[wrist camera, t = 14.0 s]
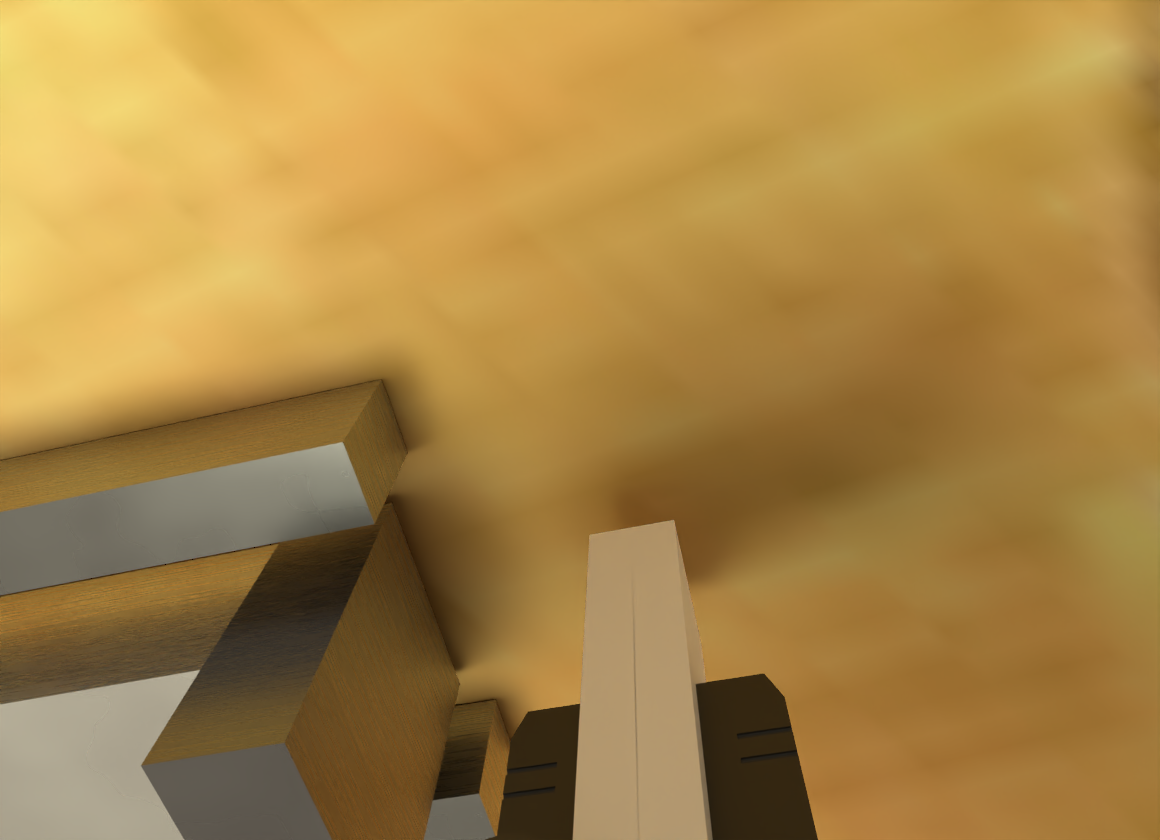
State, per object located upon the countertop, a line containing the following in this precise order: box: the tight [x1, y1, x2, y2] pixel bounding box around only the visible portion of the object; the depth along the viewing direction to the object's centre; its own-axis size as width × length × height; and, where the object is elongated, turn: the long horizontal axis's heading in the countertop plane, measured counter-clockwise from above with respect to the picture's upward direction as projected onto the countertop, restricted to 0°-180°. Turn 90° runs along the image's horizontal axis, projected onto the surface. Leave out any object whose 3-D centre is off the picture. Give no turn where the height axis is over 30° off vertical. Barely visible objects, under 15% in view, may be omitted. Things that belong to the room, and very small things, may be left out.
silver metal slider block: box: [0, 503, 460, 840], centre depth 16 cm, size 12×4×6 cm, turn 104°
